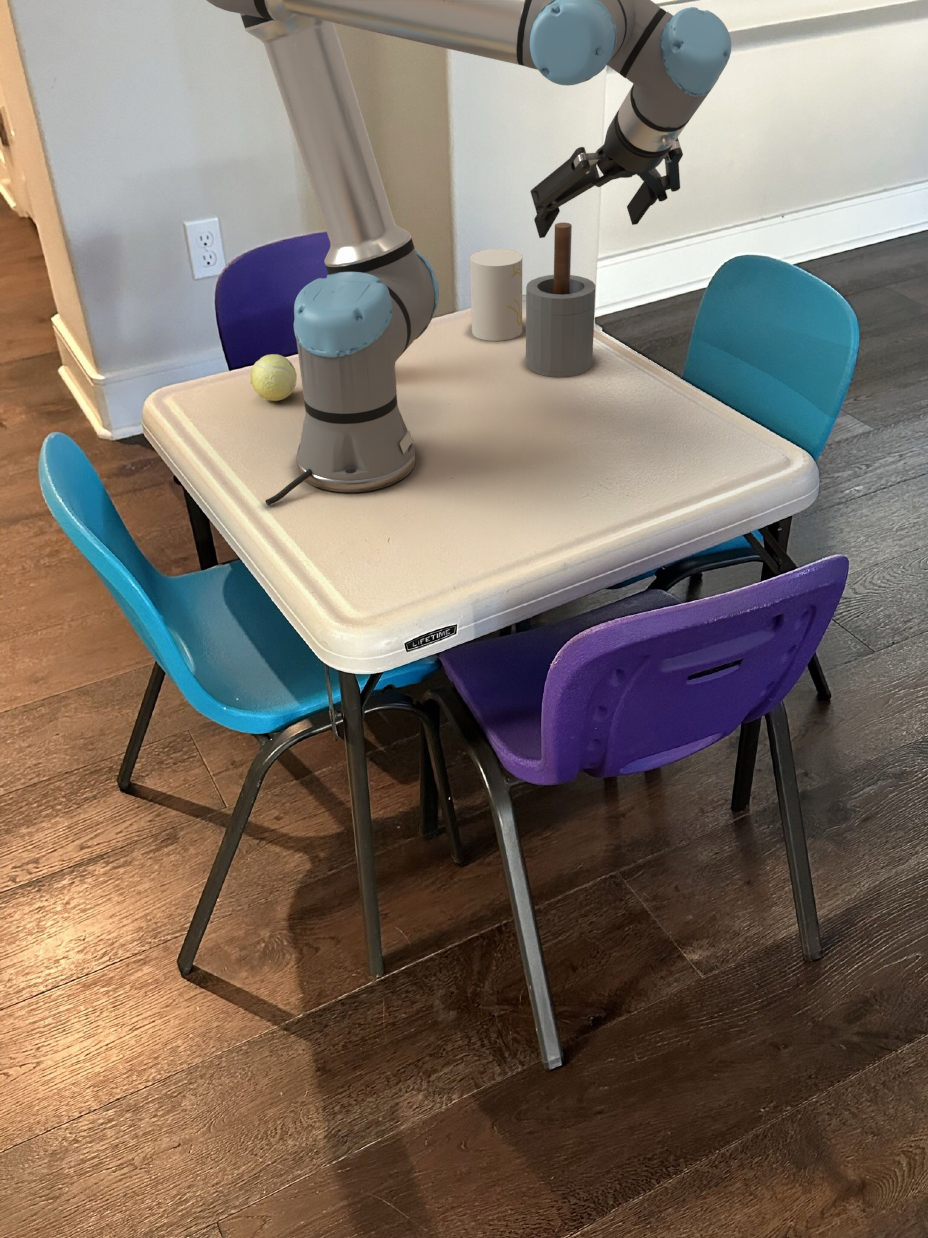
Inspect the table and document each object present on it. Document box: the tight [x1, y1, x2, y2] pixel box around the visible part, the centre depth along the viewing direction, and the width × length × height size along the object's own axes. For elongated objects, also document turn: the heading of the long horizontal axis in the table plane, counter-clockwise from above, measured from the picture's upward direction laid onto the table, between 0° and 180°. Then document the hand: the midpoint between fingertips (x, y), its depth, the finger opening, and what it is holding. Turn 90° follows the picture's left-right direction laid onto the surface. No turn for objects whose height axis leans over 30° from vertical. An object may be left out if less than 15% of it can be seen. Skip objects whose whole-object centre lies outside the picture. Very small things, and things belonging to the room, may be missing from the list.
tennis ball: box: [249, 353, 297, 402], centre depth 162 cm, size 6×7×7 cm
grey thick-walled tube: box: [525, 274, 597, 378], centre depth 168 cm, size 10×10×12 cm
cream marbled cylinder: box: [469, 248, 523, 342], centre depth 179 cm, size 8×8×12 cm
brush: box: [553, 222, 573, 295], centre depth 165 cm, size 5×5×20 cm
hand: (586, 221), depth 151 cm, fingers open, 13 cm apart
